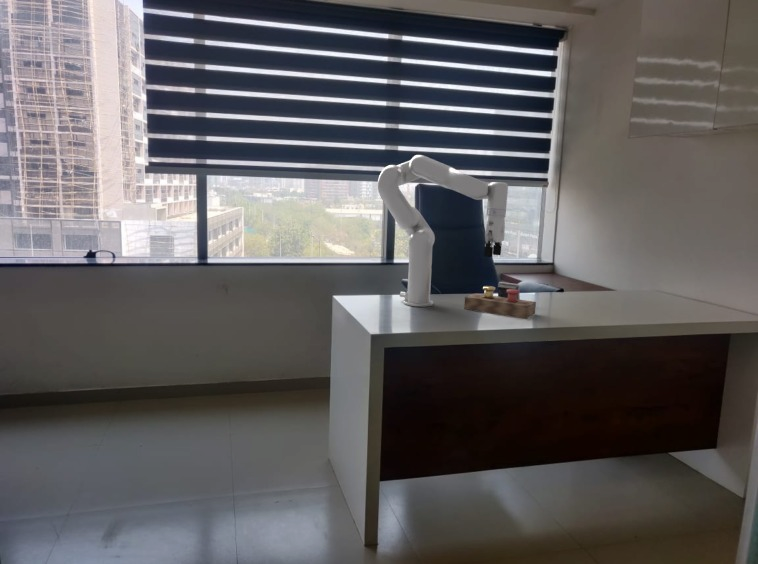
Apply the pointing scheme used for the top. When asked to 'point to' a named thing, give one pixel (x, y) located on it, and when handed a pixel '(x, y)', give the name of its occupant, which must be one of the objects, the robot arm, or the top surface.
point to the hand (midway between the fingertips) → (492, 255)
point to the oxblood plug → (512, 295)
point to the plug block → (500, 306)
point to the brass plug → (488, 292)
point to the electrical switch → (503, 288)
